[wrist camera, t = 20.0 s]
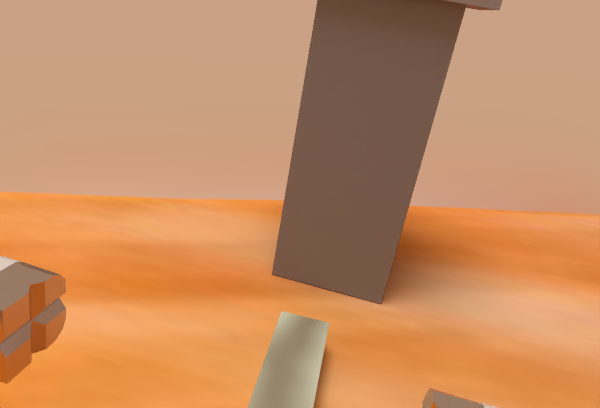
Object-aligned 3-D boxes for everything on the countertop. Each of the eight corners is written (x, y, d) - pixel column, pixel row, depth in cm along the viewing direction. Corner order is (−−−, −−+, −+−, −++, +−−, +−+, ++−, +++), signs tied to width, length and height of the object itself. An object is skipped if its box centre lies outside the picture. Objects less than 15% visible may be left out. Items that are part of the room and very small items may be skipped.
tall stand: (406, 252, 52) (484, -9, 41) (403, 316, 41) (507, -16, 30) (282, 220, 54) (325, -37, 43) (247, 274, 43) (293, -52, 32)
